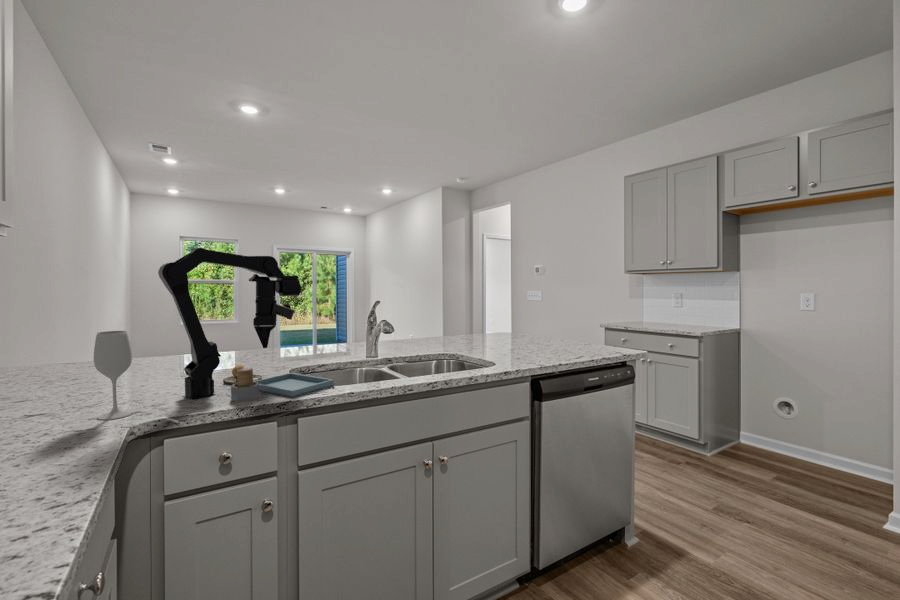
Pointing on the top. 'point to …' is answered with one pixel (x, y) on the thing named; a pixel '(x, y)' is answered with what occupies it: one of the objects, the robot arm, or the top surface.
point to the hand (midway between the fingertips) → (265, 345)
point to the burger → (233, 379)
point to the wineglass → (113, 364)
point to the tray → (293, 384)
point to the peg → (244, 377)
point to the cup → (245, 392)
